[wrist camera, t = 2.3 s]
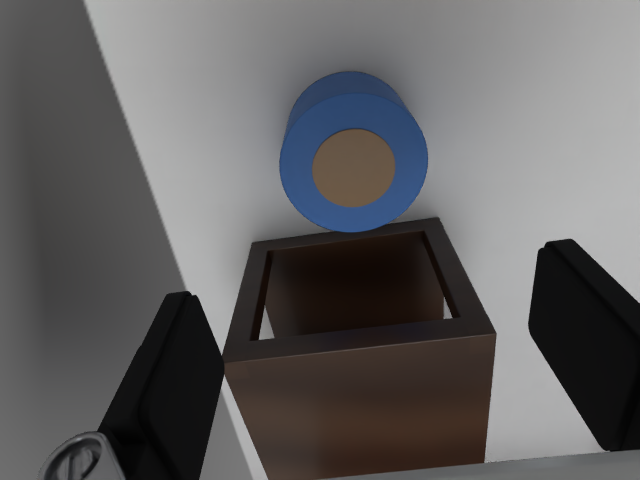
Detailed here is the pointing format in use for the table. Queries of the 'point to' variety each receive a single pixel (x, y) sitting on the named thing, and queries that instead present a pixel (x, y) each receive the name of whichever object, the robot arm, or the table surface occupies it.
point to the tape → (352, 153)
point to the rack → (361, 354)
